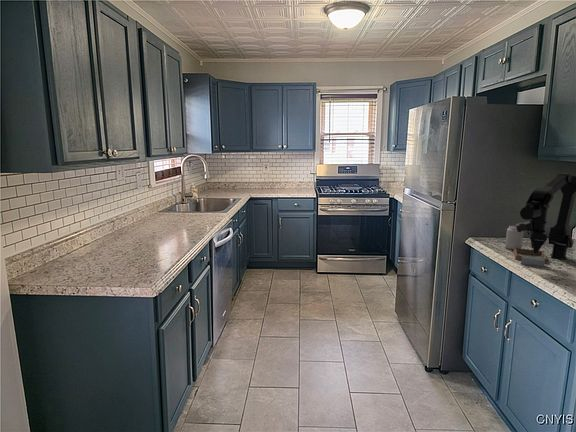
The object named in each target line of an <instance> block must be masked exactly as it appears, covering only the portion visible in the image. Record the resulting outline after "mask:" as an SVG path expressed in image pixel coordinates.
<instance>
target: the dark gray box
mask: <svg viewBox="0 0 576 432" xmlns="http://www.w3.org/2000/svg"><path fill="white" fill-rule="evenodd" d="M521 256H522V258H521V260H520V265H523V266H530V267H534V268H535V267H537V268H543V269H544V268H545V264H546V263H545V258H542V257H540V256H539V257H538V256H531V255H524V254H521Z"/></svg>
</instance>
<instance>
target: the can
mask: <svg viewBox="0 0 576 432" xmlns="http://www.w3.org/2000/svg"><path fill="white" fill-rule="evenodd" d="M523 238H524V231H521V232H517V228H516V225H509V226H508V228H507V229H506V237H505V244H504V245H505V248H506V249H507V250H510V251H511V250H512V251H514V248H519V249H523V248H522V247H523Z"/></svg>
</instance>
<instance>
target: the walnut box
mask: <svg viewBox="0 0 576 432" xmlns="http://www.w3.org/2000/svg"><path fill="white" fill-rule="evenodd" d="M518 253H519V254H528V255H535V256H541V258H545V264H547V263H548V258H547V255H546V253H545V252H544V251H543V250H539V251H538V252H537V253H534V251H533V249H526V248H521V249H519V248H514V250H513V254H514V259H515V261H516V260H517V261H521V258H522V255H518Z"/></svg>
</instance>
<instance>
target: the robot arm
mask: <svg viewBox="0 0 576 432" xmlns="http://www.w3.org/2000/svg"><path fill="white" fill-rule="evenodd" d="M559 190H560V192H561V193H562V198H561V201H560V202H561V203H560V207H559V210H558V215H557V220H556V224H554V226H551V227H550V229H549V233H548V235H547V233H546V224H547V217H548V216H547V215H548V208H550V207H551V206H550V204H551V202H552V201H553V200H554V197H555V196H554V195H555V194H556V193H557V192H558V191H559ZM575 199H576V176H574V175H573V174H570V173H565V172H564V173H562V172H561V173H560V172H559V173H558V174H557V175H556V176H555V177H554V178H553V179H552V180H551V181H549V182H548V183H547V184H546V185H544V186H541V187H538V188H535V189H534V190H533V191H531V193H530V195H529V196H528V199H527V200H526V202H525V206H524V207H522V208H521V209H520V211H519V215H520V217H521V218H522V219H523V220H526V221H524V222H519V223H515V225H514V226H516V228H517V232H521V231H526V233H527V234H528V236H529V240H530V244H531V249H532V250H533V251H534V253H537V252H538V251H540V249H541V248H542V247H543V246H544V244H545V243H546V242H547V241H548V244H549V245H552V250H551V253H549V256H550V258H552V259H558V260H559V259H560V260H567V261H568V257H567V252H568V248H569V249H570V248H571V249H573V248H572V247H573V246H574V240H573V239H572V231H571V229H570V227H569V225H570V222H571V221H570V220H571V216H572V212H573V209H574V208H573V207H574V204H575ZM527 220H528V221H527Z"/></svg>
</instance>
